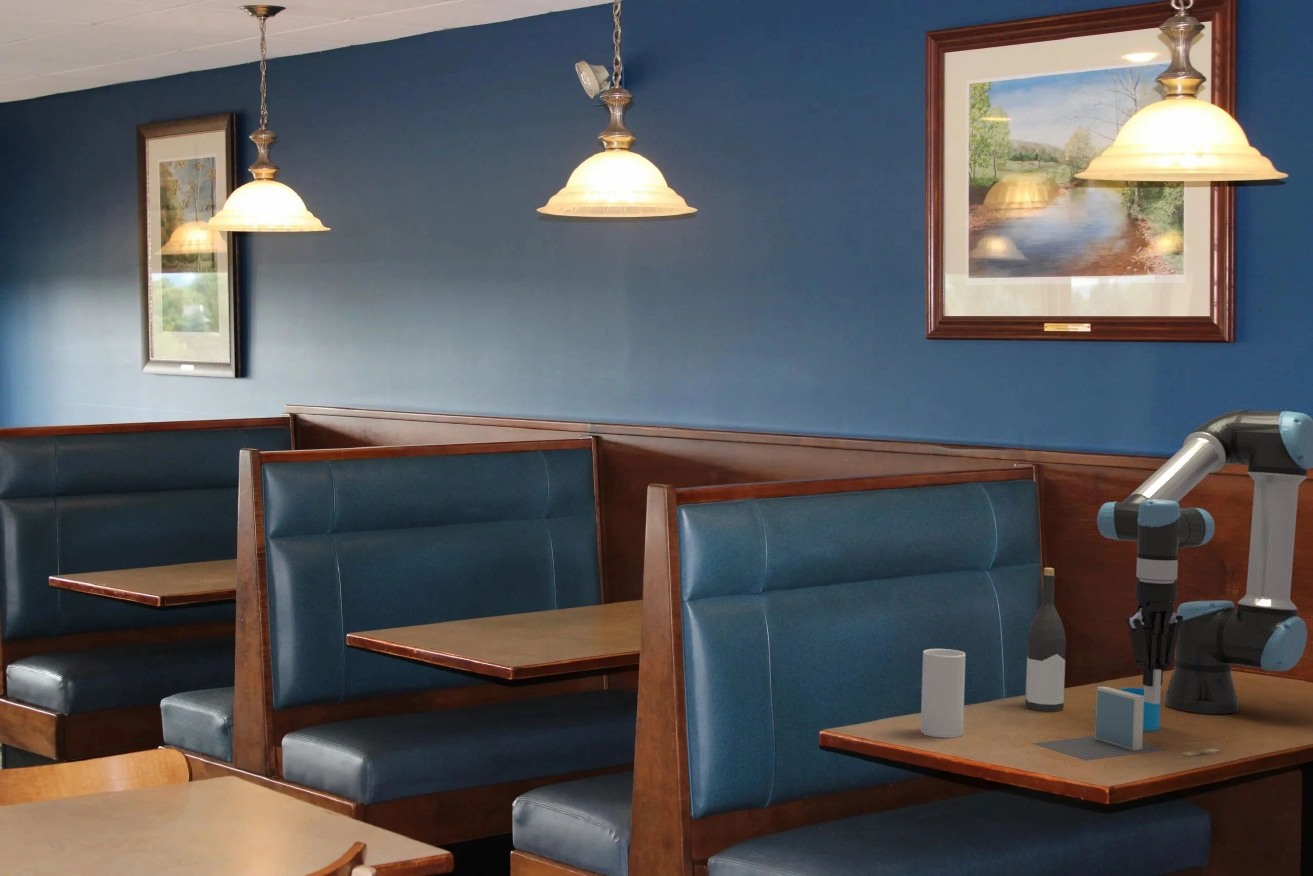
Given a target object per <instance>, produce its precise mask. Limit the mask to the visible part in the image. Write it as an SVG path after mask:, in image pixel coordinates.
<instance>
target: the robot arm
mask: <svg viewBox="0 0 1313 876" xmlns="http://www.w3.org/2000/svg"><path fill="white" fill-rule="evenodd" d="M1235 464H1236V465H1244V466H1245V465H1247V474H1248V475H1249V477H1251V479H1252V480H1253V481H1254V486H1253V487H1254V489H1253V490H1254V491H1253V500H1252V501H1253V503H1252V514H1251V515H1252V516H1251V529H1250V541H1249V553H1248V567H1247V579H1246V580H1247V581H1246V594H1245V595H1244V597H1242V598H1241V599H1240V600H1239V601H1238V602H1237V609H1236V608H1235V607H1236V606H1235V603H1234V601H1231V600H1198V601H1188V602H1183V603H1181V604H1179V606H1178V607H1177V610H1176V612H1175V607H1174V604H1173V603H1175V602H1176V601H1177V593H1178V584H1177V583H1176V582H1175V581H1177V580H1178V569H1179V567H1178V565H1179V562H1178V561H1179V559H1178V558H1179V548H1189V547H1190V548H1191V547H1192V548H1196V547H1199V546H1203V545H1206V544H1207V543H1208V542H1209V541H1210V540H1212V538H1213V537H1214V535H1215V529H1216V527H1215V521H1214V518H1213V517H1212V515H1211V514H1210V512H1208V511H1207V510H1205V509H1203V508H1200V507H1199V508H1198V507H1187V508H1185V507H1181V506H1180V504H1179V502H1180V501H1181V500H1182V499H1183V498H1184V497H1185V496H1186V495H1187V494H1188V493H1189V492H1190V491H1191V490H1192V489H1194V488H1195V487H1196V486H1197V485H1198V484H1200V482H1201V481H1203V479H1204V478H1206V476H1208V474H1209V473H1211V474H1212V473H1215V472H1219V471H1220V470H1221V469H1222V468H1223V467H1224V466H1229V465H1235ZM1311 469H1313V418H1311V417H1310V416H1309V415H1308V414H1306V413H1303V412H1295V411H1289V410H1284V411H1281V410H1280V411H1279V410H1250V409H1249V410H1247V409H1237V410H1233V411H1229V412H1225V413H1223V414H1220V415H1218V416H1215V417H1213V418H1212V419H1210V420H1208V421H1206V422H1204V423H1203V424H1201V425H1200V426H1198V427H1197V428H1196V429H1194V430H1193V431H1191V433H1190V434H1189V435H1187V436H1186V438H1185V439H1184V442H1183V445H1182V447H1181V448H1180V449H1179V450H1178V451H1177V452H1176V453H1175V454H1174V455H1172V457H1171V458H1169V459H1168V460H1166V462H1165V463H1163V465H1161V467H1159V468H1158V469H1157V470H1156V471H1155V472H1154V473H1153V474H1152V475H1151V476H1149V477H1148V478H1147V479H1146V480H1144V482H1143V483H1141V485H1139V487H1137V488H1136V489H1135V490H1134V491H1133V492H1132V493H1131V494H1130V495H1128V497H1126V498H1125V499H1124V500H1123V501H1122V502H1118V501H1112V502H1111V501H1109V502H1105V503H1103V504H1102V505H1101V507H1100V508H1099V510H1098V513H1097V518H1096V523H1097V528H1098V531H1099V533H1100V534H1101V535H1102V537H1104V538H1107V539H1110V540H1111V539H1112V540H1116V541H1118V542H1122V541H1124V542H1125V541H1127V542H1134V543H1137V552H1136V572H1135V573H1136V574H1135V575H1136V577H1137V579H1138V580H1136V581H1135V591H1134V592H1135V593H1134V594H1135V595H1134V596H1135V599H1136V600H1137V602H1138V604H1137V607H1136V610H1135V611H1136V613H1135V615H1133V616H1132V617H1131V616H1128V617H1127V618H1126V620H1125V621H1126V624H1127V625H1128V629H1129V632H1130V637H1131V640H1130V641H1131V645H1132V654H1133V661H1134V664H1135V665H1136V666H1137V667H1138V668H1142V684H1143V686H1144V687H1143V688H1144V702H1148V703H1152V704H1160V705H1161V698H1160V693H1161V687H1162V685H1163V679H1164V678H1163V676H1164V675H1163V674H1164V670H1165V671H1166V670H1168V669H1169V666H1170V665H1172V663H1173V658H1174V669H1173V673H1172V675H1171V678H1170V680H1169V684H1168V687H1167V690H1166V691H1165V693H1164V705H1165V706H1166V707H1168V708H1171V709H1175V710H1178V711H1183V712H1189V713H1196V714H1207V715H1209V714H1210V715H1226V714H1227V715H1228V714H1233V713H1237V712H1238V711H1239V709H1240V708H1239V704H1240V703H1239V702H1240V701H1239V697H1238V695H1237V692H1236V688H1235V684H1234V679H1233V677H1232V676H1233V675H1232V665H1237V666H1243V667H1249V668H1254V669H1262V670H1264V671H1274V672H1275V671H1276V672H1286V671H1289V670H1291V669H1292V668H1294V667H1295V666H1296V665H1297V664H1298V662H1299V661H1300V659H1301V658H1302V656H1303V655H1304V654H1303V653H1304V651H1305V649H1306V648H1305V647H1306V645H1307V641H1308V640H1307V639H1308V629H1307V624H1306V622H1305V621H1304V620H1303V619H1302V618H1300V617H1299V616H1297V615H1298V613H1297V612H1298V607H1297V606H1296V605H1295V603H1294V602H1293V601H1292V600H1291V590H1292V576H1293V575H1292V574H1293V565H1294V564H1293V563H1294V551H1295V550H1294V548H1295V536H1296V523H1297V522H1296V521H1297V511H1298V496H1299V485H1300V484H1301V483H1302V482H1304V480H1306V479H1307V478H1308V470H1311Z"/></svg>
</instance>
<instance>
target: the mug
mask: <svg viewBox="0 0 1313 876" xmlns="http://www.w3.org/2000/svg"><path fill="white" fill-rule="evenodd" d="M1118 690H1121V691H1125V692H1129V693H1133V694H1137V695H1141V696H1144V687H1143V688H1142V687H1121V688H1119V689H1118ZM1161 694H1162V693H1161V692H1160V699H1162V698H1161V696H1162V695H1161ZM1160 721H1161V703H1160V704H1152V703H1148V702H1144V711H1143V732H1144V731H1157V730H1159V729H1160V725H1161V724H1160V723H1161V722H1160Z"/></svg>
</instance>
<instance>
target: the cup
mask: <svg viewBox="0 0 1313 876" xmlns="http://www.w3.org/2000/svg"><path fill="white" fill-rule="evenodd" d="M921 672H922V673H921V674H922V679H921V703H920V704H921V707H920V708H921V709H920V714H921V715H920V733H921V734H922V733H923V734H922V735H925V736H929V737H933V738H942V739H944V738H947V739H949V738H960V737H962V736H963V735H964V714H965V713H964V710H965V682H966V681H965V680H966V678H965V677H966V652H965V651H962V650H957V649H948V648H947V649H946V648H929V649H925V650H923V651H922V671H921Z"/></svg>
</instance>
